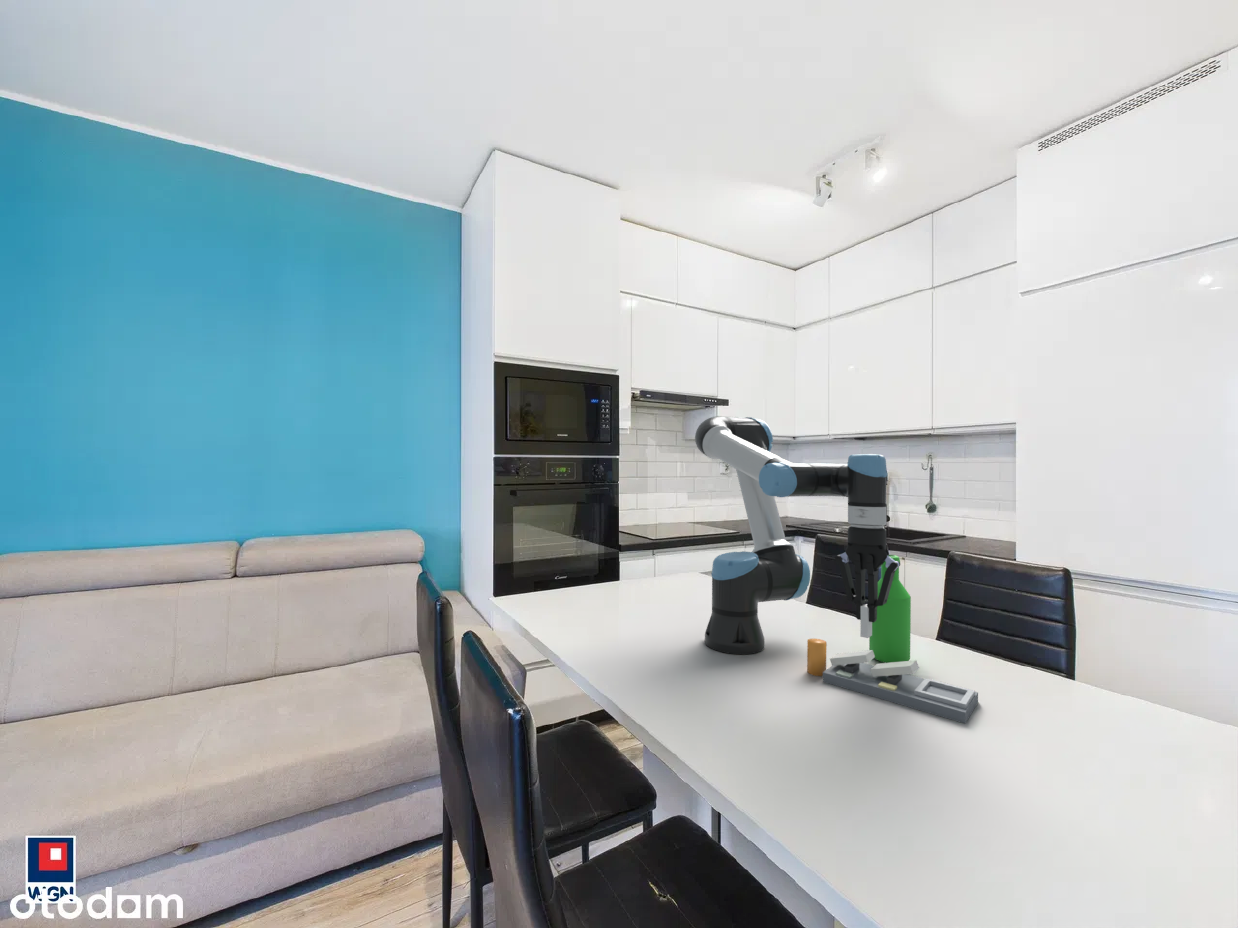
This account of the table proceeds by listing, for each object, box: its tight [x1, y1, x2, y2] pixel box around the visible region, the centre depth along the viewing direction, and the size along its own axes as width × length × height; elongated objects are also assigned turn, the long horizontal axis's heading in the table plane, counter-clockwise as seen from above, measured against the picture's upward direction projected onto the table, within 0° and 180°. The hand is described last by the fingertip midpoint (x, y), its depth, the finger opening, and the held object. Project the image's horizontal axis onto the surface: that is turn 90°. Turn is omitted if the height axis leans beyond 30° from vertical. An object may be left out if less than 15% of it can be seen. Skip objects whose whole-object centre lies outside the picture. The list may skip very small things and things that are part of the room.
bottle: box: [868, 554, 912, 663], centre depth 126 cm, size 9×9×25 cm
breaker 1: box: [829, 649, 875, 666], centre depth 114 cm, size 8×4×2 cm, turn 47°
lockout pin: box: [806, 638, 827, 677], centre depth 117 cm, size 4×4×7 cm
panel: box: [822, 662, 979, 724], centre depth 108 cm, size 26×12×3 cm, turn 46°
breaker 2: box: [870, 659, 920, 677], centre depth 108 cm, size 8×4×2 cm, turn 47°
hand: (866, 635), depth 112 cm, fingers closed
